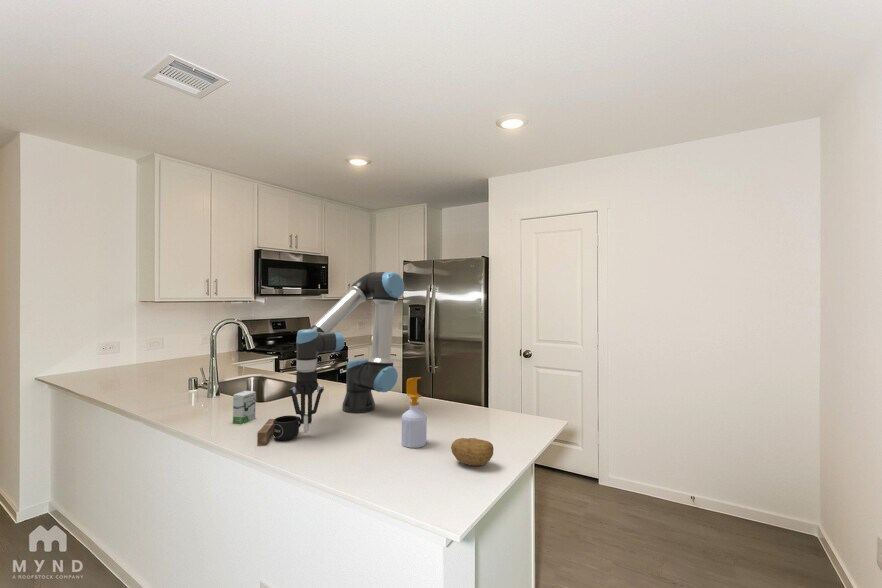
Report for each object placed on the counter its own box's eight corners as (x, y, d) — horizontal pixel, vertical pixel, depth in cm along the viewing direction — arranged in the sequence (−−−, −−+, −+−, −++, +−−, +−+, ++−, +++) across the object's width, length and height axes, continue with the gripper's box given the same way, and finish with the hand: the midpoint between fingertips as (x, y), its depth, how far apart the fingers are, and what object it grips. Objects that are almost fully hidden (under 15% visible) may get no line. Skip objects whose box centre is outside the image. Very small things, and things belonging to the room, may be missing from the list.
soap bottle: (407, 450, 143) (408, 380, 143) (397, 441, 151) (398, 375, 151) (430, 446, 147) (431, 377, 147) (419, 437, 155) (420, 373, 155)
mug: (286, 443, 147) (286, 423, 147) (267, 439, 151) (267, 420, 151) (309, 433, 158) (309, 415, 158) (291, 429, 162) (292, 412, 162)
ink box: (242, 424, 168) (242, 395, 168) (232, 423, 169) (232, 394, 169) (256, 418, 177) (256, 390, 177) (246, 417, 178) (246, 390, 178)
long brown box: (277, 430, 161) (277, 418, 161) (266, 445, 146) (266, 431, 146) (269, 430, 161) (269, 418, 161) (257, 445, 145) (257, 432, 145)
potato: (456, 455, 139) (456, 431, 139) (496, 462, 134) (497, 437, 134) (446, 466, 130) (446, 441, 130) (489, 474, 124) (489, 448, 124)
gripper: (325, 368, 160) (324, 428, 160) (291, 368, 158) (290, 429, 158) (323, 371, 153) (322, 434, 153) (286, 372, 151) (286, 436, 151)
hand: (306, 432), depth 155 cm, fingers closed
